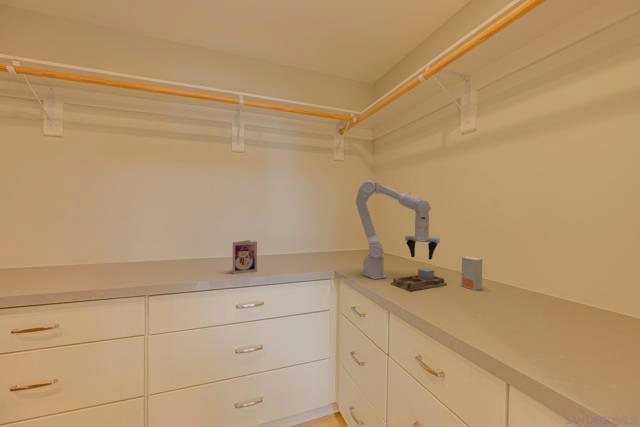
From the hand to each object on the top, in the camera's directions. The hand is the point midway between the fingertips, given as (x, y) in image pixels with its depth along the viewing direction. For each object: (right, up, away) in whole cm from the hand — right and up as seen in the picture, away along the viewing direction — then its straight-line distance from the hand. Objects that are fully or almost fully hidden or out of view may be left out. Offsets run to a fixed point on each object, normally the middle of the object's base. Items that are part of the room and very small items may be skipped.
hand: (421, 258), depth 116 cm
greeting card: (-83, -9, +12) cm, 84 cm away
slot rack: (-5, -10, -9) cm, 14 cm away
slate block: (-1, -9, -7) cm, 11 cm away
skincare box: (+15, -10, -13) cm, 22 cm away
